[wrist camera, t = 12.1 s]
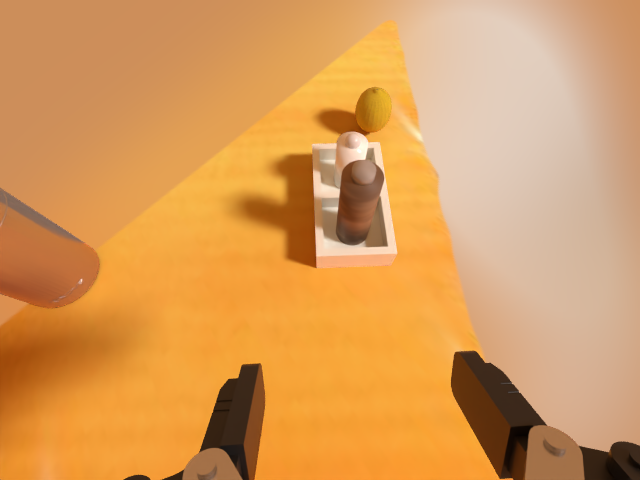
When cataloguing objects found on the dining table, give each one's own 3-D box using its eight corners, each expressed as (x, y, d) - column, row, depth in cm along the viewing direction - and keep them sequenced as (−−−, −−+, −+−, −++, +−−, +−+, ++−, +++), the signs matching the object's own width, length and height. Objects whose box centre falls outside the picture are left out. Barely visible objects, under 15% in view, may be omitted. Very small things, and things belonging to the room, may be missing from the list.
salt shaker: (328, 180, 47) (330, 136, 39) (344, 164, 49) (350, 119, 41) (349, 195, 46) (356, 153, 38) (365, 178, 47) (376, 134, 40)
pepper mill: (329, 230, 44) (333, 169, 32) (350, 211, 45) (362, 145, 33) (353, 251, 42) (366, 195, 30) (374, 230, 44) (395, 169, 32)
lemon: (346, 127, 54) (350, 86, 47) (371, 113, 55) (378, 71, 48) (368, 148, 52) (376, 108, 45) (392, 132, 53) (404, 91, 46)
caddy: (390, 265, 43) (397, 253, 39) (316, 268, 43) (316, 256, 39) (375, 160, 51) (379, 142, 47) (312, 161, 51) (312, 144, 47)
